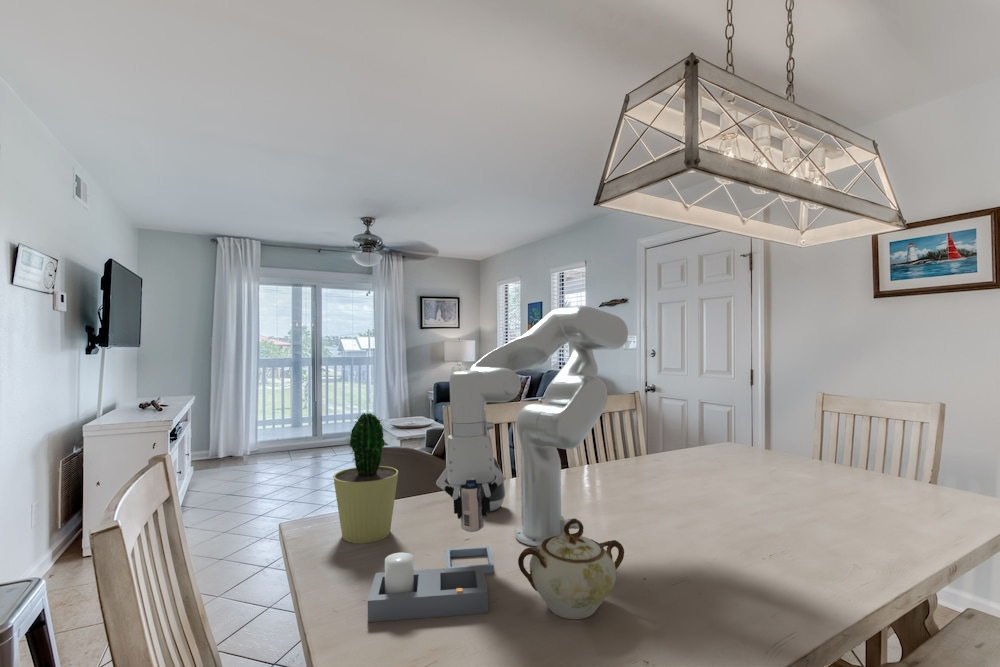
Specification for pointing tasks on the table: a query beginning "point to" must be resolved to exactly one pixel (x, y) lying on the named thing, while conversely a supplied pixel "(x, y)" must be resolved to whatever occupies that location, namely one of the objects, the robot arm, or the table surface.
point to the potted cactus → (366, 485)
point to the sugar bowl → (572, 572)
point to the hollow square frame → (472, 552)
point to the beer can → (471, 506)
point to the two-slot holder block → (425, 591)
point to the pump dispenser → (497, 493)
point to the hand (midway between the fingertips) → (472, 514)
